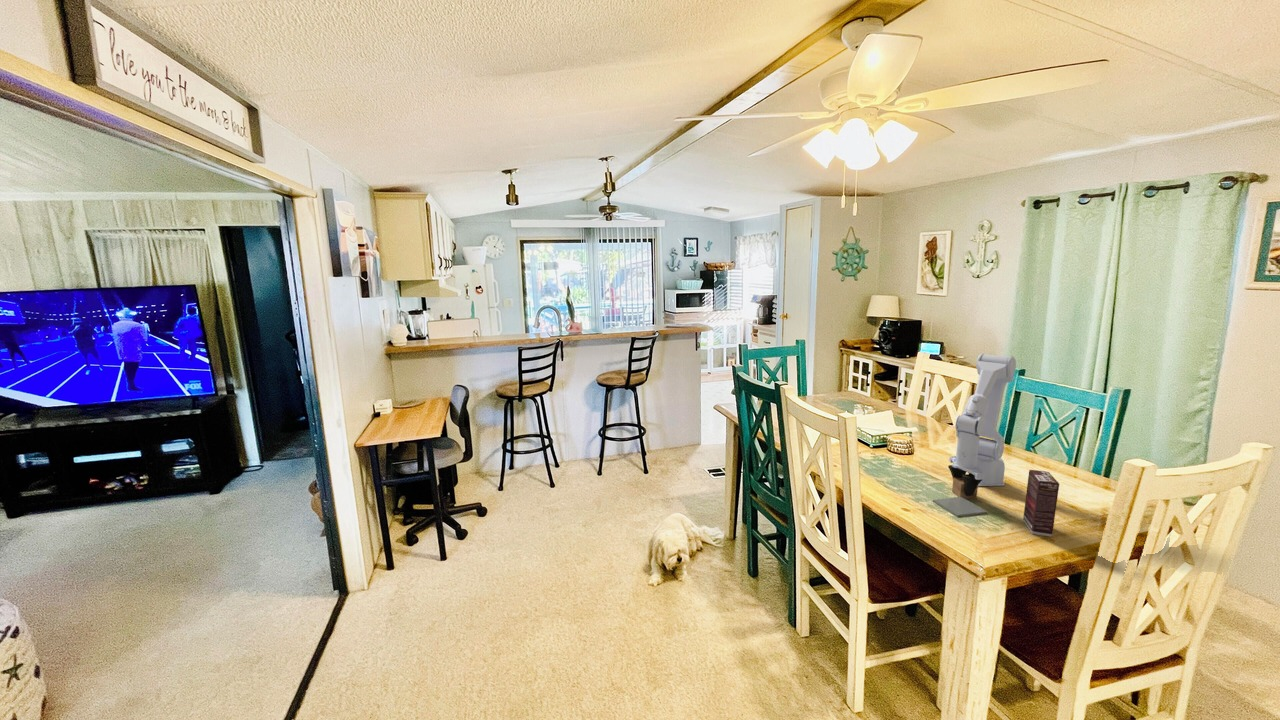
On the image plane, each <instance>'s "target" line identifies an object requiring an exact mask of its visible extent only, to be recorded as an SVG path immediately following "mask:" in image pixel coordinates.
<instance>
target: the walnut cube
mask: <svg viewBox="0 0 1280 720" xmlns="http://www.w3.org/2000/svg"><path fill="white" fill-rule="evenodd" d="M978 489H979V486H977V488H976V490H975V492H974V494H973V496H966V495H965V485H964V480H963V478H956V477H952V488H951V492H952V493H953V494H954V495H955V496H956V497H963V498H964V499H966V500H968V499H969V500H971V499H973V500H975V499H977V498H978Z"/></svg>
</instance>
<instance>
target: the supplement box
mask: <svg viewBox="0 0 1280 720" xmlns="http://www.w3.org/2000/svg"><path fill="white" fill-rule="evenodd" d="M1059 488H1060V483H1059V481H1057V479H1056V478H1054V476H1053V475H1052V474H1051V473H1050V471H1045V470H1038V469H1037V470H1036V469H1029V471H1028V478H1027V487H1026V494H1025V503H1024V510H1023V511H1024V512H1023V518H1022V520H1023V522H1024V523H1025V525H1026V526H1027V528H1028V529H1029V531H1030V533H1031V534H1032V535H1036V536H1042V537H1043V536H1044V537H1051V538H1052V537H1053V532H1054V525H1055V524H1054V523H1055V519H1056V518H1055V517H1056V509H1057V502H1058V496H1059Z"/></svg>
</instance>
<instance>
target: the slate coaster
mask: <svg viewBox="0 0 1280 720" xmlns="http://www.w3.org/2000/svg"><path fill="white" fill-rule="evenodd" d="M932 502H933V503H934V504H936V505H938V506H939V507H941V508H942V509H944V510H946V512H949V513H950V514H952V515H953V516H955V517H957V518H959V517H968V516H975V515H976V516H977V515H984V514H988V511H987V510H986V509H984V508H982V507H980V506H978V505H977V504H975V503H973V502H971V501H969V500H968V499H964V498H963V497H958V496H956V497H946V498H938V499H933V500H932Z"/></svg>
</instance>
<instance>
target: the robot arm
mask: <svg viewBox="0 0 1280 720" xmlns="http://www.w3.org/2000/svg"><path fill="white" fill-rule="evenodd" d="M975 363H976V364H975V367H976V371H977V374H978V376H979V377H978V380H977V384H976V387H975V391H974V394H972V395H970V396H969V397H968V398H967V402H966V405H965V407H964V409H963V411H962V414H961V415H958V416H957V418H956V422H955V431H956V434H955V435H956V437H957V442H956V451H955V453H956V455H950V456H949V458H948V459H949V460H948V461H949V463H951V464H950V465H948V469H949V471H950V473H951V476H952V478H953V477H956V478H963V480H964V485H965V495H966V496H973V494H974V492H975V490H976V488H977V486H978V487H995V486H996V487H997V486H998V487H1001V486H1005V485H1006V484H1005V483H1004V478H1005V470H1006V469H1005V468H1006V467H1005V462H1004V460H1003V459H1002V456H1003V454H1004V449H1005V448H1004V447H1005V446H1004V444H1005V438H1004V437H1003V436H1002V434H1001V433H1000V432H998V431H997V426H998V422H999V417H1000V411H1001V407H1002V400H1003V397H1004V391H1005V387H1006V385H1007V383H1011V382H1013V379H1014V377H1015V372H1016V368H1017V361H1016V358H1015V357H1014V356H1007V355H996V354H985V353H980V354H979V355H978V356H977V358H976V362H975ZM984 437H985V438H984Z"/></svg>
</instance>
